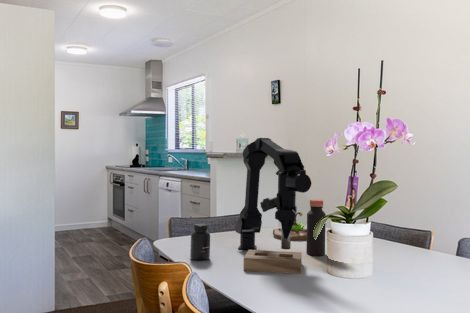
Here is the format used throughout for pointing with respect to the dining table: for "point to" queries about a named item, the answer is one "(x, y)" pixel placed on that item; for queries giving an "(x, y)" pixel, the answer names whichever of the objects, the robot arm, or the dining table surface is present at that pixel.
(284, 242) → the peg
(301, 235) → the plant
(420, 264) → the dining table surface
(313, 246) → the vinegar
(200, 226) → the supplement bottle
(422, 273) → the dining table surface
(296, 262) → the peg board
